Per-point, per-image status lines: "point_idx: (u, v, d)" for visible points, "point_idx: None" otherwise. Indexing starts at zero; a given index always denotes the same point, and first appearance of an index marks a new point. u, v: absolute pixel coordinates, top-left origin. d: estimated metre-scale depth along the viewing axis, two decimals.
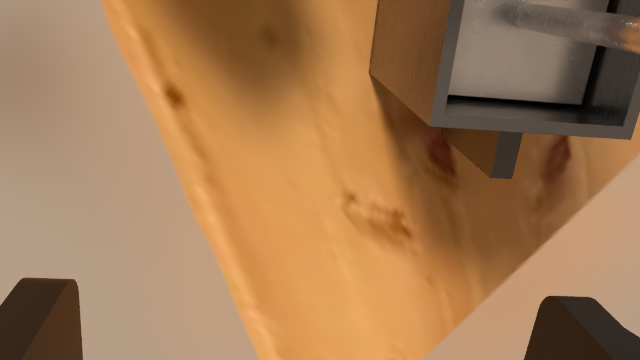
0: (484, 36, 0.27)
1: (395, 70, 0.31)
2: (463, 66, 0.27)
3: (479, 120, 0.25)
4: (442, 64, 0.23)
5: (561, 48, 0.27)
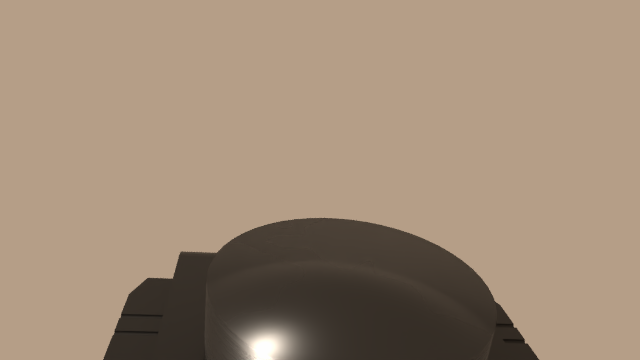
0: None
1: None
2: None
3: None
4: None
5: None
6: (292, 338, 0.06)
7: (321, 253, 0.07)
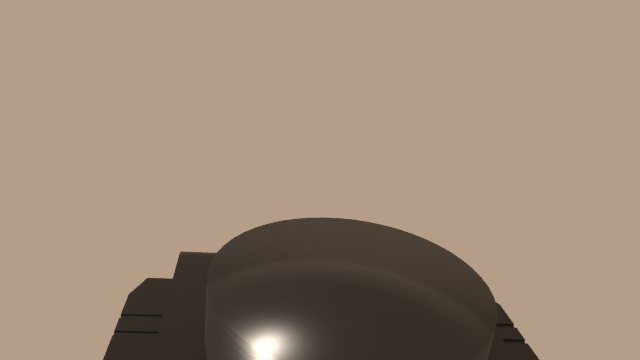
0: None
1: None
2: None
3: None
4: None
5: None
6: (292, 338, 0.06)
7: (322, 252, 0.07)
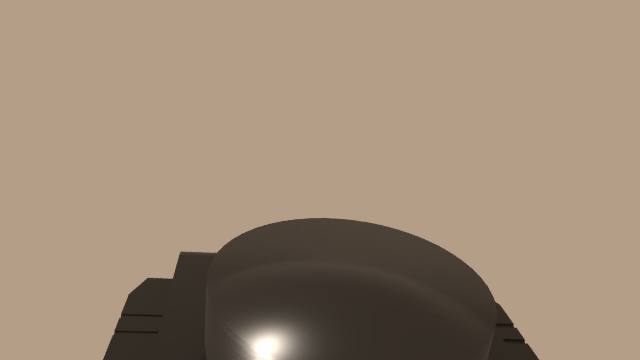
0: None
1: None
2: None
3: None
4: None
5: None
6: (291, 338, 0.06)
7: (321, 253, 0.07)
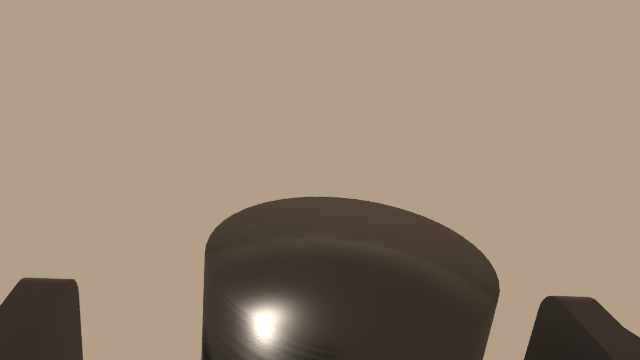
0: None
1: None
2: None
3: None
4: None
5: None
6: (290, 308, 0.06)
7: (321, 229, 0.07)
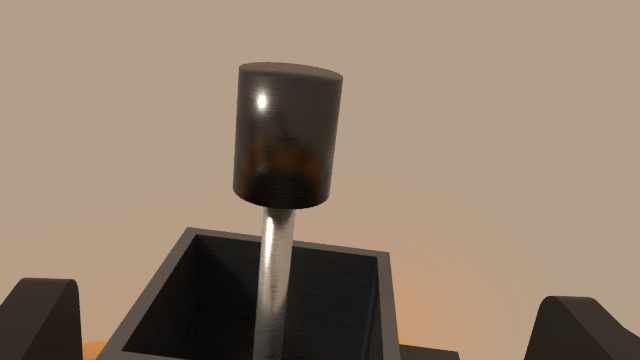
0: None
1: None
2: None
3: (388, 352, 0.19)
4: None
5: None
6: (267, 76, 0.18)
7: (281, 67, 0.19)
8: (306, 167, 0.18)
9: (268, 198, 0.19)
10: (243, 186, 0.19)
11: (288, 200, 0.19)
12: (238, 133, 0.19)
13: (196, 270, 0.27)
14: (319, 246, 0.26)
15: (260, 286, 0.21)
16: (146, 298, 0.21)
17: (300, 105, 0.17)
